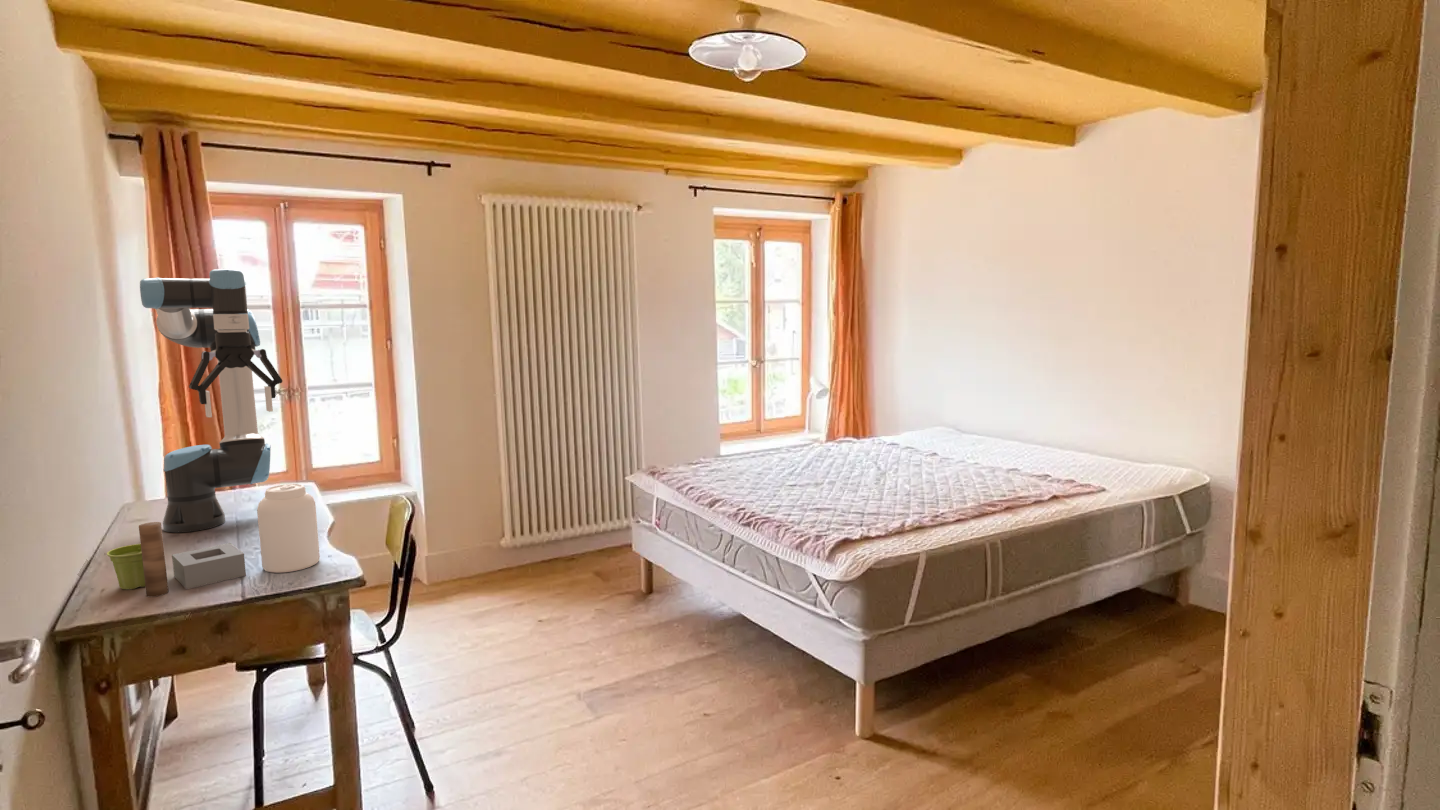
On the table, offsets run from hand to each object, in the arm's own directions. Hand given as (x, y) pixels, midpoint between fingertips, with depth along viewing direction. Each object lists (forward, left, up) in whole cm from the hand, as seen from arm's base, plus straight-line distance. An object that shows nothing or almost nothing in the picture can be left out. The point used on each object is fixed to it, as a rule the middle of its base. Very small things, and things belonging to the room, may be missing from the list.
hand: (240, 414), depth 194 cm
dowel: (+18, -24, -37) cm, 47 cm away
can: (+20, +3, -37) cm, 42 cm away
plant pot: (+8, -26, -37) cm, 46 cm away
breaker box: (+14, -13, -37) cm, 41 cm away
